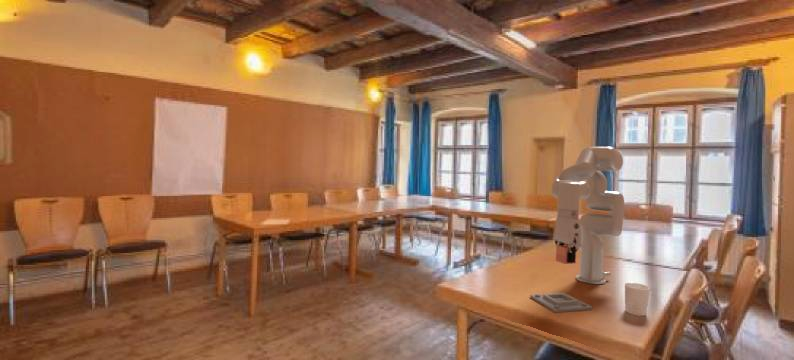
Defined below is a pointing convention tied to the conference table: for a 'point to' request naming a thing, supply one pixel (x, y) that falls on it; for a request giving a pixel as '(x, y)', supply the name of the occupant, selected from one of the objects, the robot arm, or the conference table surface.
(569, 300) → the baseplate
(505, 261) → the conference table surface
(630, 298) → the white cup
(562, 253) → the pink knobbed block
